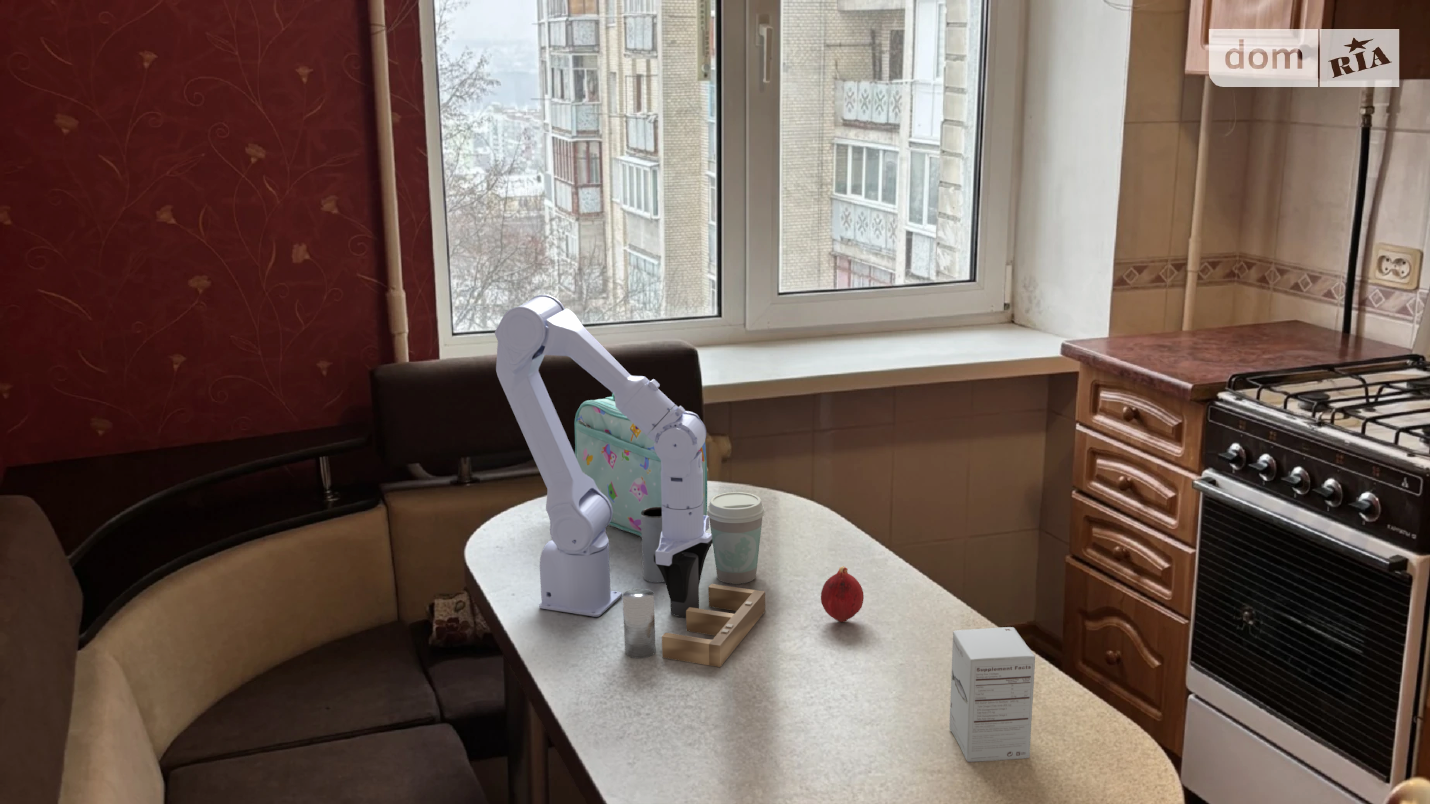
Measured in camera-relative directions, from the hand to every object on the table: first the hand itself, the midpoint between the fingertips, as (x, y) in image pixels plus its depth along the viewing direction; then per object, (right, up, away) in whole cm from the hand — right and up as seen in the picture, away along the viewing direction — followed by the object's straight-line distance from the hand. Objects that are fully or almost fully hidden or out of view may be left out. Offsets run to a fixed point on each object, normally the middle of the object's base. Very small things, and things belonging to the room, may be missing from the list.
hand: (684, 594), depth 176 cm
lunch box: (-9, +6, +34) cm, 36 cm away
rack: (+4, -4, -6) cm, 9 cm away
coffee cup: (+7, +1, +12) cm, 15 cm away
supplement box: (+35, -12, -34) cm, 50 cm away
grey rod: (-6, -6, -11) cm, 13 cm away
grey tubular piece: (-4, +1, +13) cm, 13 cm away
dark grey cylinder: (0, -2, +1) cm, 2 cm away
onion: (+22, -3, -3) cm, 22 cm away
